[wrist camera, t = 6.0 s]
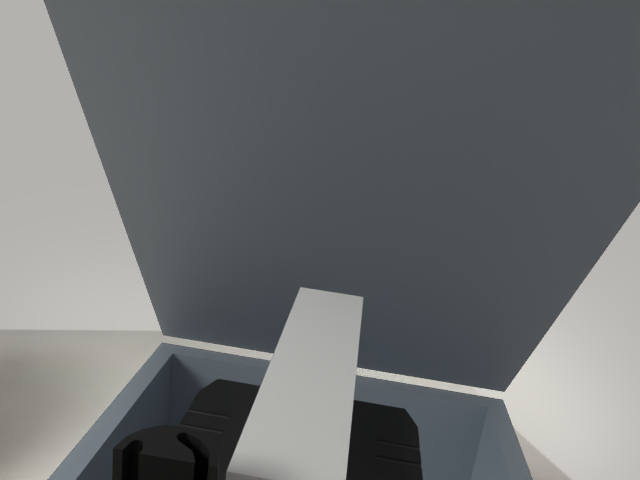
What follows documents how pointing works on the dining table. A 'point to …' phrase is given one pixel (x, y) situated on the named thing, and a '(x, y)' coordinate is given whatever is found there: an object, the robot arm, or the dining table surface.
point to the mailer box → (420, 402)
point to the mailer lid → (365, 163)
